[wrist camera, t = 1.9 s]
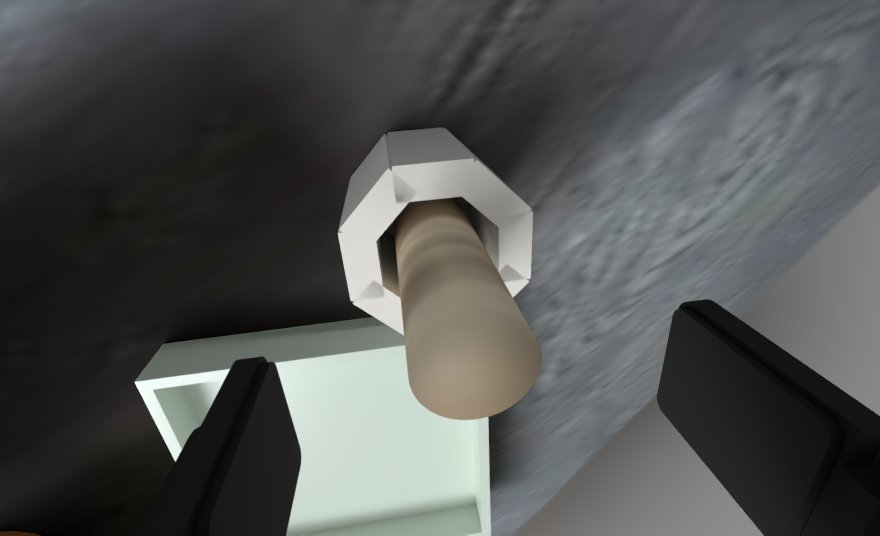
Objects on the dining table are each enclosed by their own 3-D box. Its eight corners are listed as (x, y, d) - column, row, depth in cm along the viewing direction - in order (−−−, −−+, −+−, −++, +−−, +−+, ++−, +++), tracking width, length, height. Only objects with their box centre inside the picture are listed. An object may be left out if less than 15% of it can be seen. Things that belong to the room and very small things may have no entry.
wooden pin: (388, 176, 19) (401, 322, 8) (452, 170, 19) (544, 303, 9) (395, 237, 21) (414, 428, 10) (455, 230, 21) (538, 409, 10)
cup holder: (343, 136, 19) (326, 172, 13) (485, 123, 20) (534, 152, 13) (364, 265, 22) (359, 346, 16) (487, 251, 23) (528, 323, 16)
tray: (163, 343, 22) (134, 382, 20) (474, 304, 24) (486, 334, 21) (249, 535, 30) (236, 581, 27) (481, 496, 32) (490, 536, 29)
